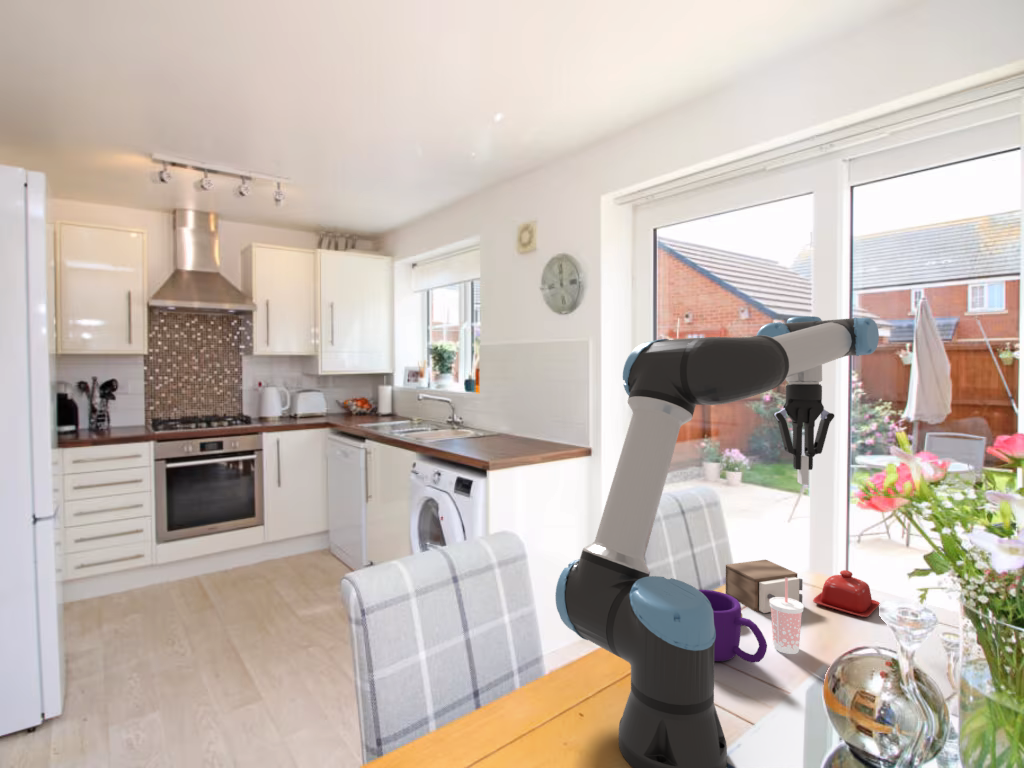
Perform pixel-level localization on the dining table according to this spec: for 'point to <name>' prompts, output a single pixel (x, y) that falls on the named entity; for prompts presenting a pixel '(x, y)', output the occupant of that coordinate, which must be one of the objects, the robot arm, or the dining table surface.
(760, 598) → the door
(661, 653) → the robot arm
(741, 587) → the cabinet
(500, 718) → the dining table surface
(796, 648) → the beverage cup
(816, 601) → the butter dish
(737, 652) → the mug
